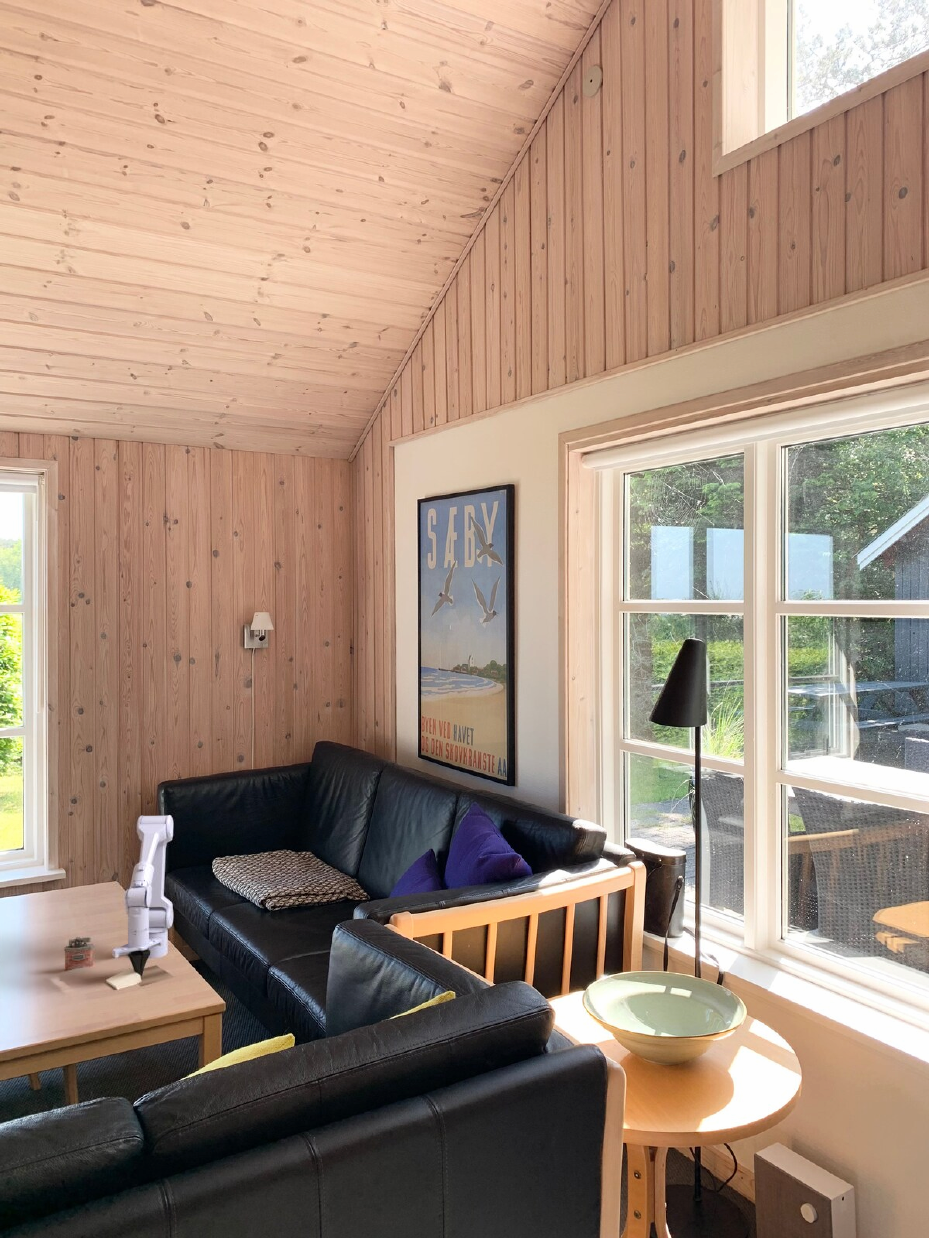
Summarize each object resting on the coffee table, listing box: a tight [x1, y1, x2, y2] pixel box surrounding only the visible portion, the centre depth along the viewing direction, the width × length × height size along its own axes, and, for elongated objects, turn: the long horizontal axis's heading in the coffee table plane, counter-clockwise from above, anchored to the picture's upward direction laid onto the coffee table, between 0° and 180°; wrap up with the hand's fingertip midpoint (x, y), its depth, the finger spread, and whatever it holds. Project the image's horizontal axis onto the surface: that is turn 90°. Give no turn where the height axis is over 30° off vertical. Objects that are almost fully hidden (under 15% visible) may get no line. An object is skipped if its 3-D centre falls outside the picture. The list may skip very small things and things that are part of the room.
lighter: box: [63, 936, 94, 972], centre depth 276 cm, size 8×3×10 cm, turn 105°
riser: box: [137, 964, 175, 987], centre depth 269 cm, size 12×10×2 cm
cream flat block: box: [105, 968, 142, 990], centre depth 264 cm, size 7×7×2 cm
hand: (138, 975), depth 267 cm, fingers closed
